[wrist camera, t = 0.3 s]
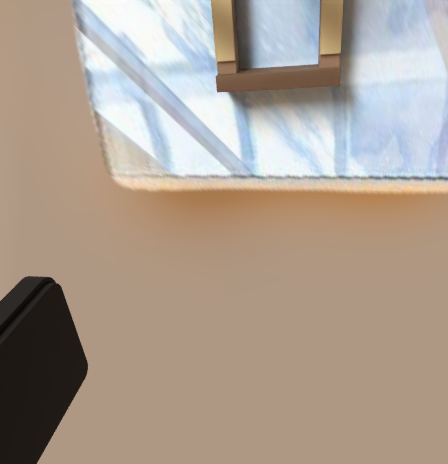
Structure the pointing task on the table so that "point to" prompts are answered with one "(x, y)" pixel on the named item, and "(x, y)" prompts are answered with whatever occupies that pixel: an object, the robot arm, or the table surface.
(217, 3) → the rail channel
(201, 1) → the table surface
